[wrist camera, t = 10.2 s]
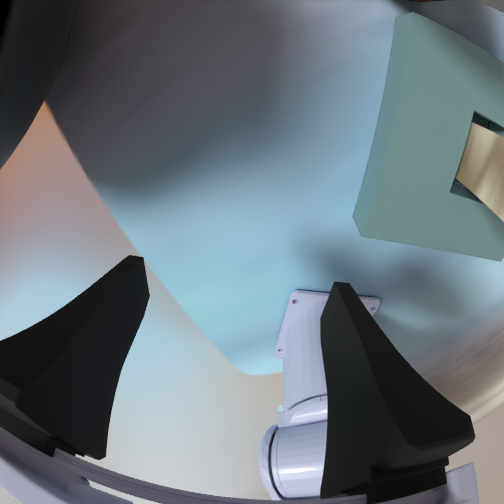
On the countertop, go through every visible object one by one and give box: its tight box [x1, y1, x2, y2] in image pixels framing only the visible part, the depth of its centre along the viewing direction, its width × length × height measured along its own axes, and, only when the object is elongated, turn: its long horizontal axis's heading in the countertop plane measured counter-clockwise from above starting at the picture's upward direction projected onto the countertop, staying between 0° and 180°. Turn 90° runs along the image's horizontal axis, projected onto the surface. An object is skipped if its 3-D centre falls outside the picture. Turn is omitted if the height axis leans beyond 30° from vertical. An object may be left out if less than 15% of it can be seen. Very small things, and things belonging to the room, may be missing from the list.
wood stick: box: [455, 122, 504, 222], centre depth 11 cm, size 4×2×9 cm, turn 174°
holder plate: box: [353, 12, 504, 262], centre depth 14 cm, size 14×14×2 cm
